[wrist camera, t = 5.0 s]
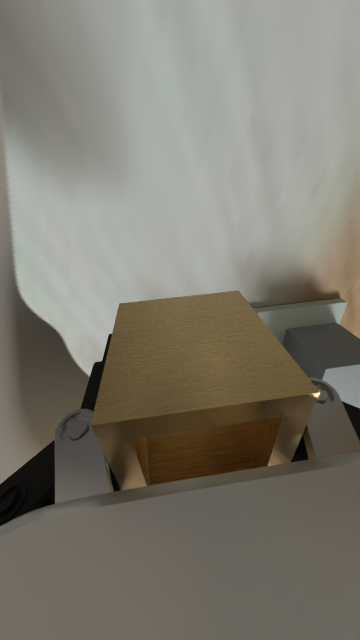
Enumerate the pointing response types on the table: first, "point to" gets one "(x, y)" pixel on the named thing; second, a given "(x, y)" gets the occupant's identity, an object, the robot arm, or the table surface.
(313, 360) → the coupling rig
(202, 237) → the table surface
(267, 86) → the table surface
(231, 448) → the hollow wooden square tube
